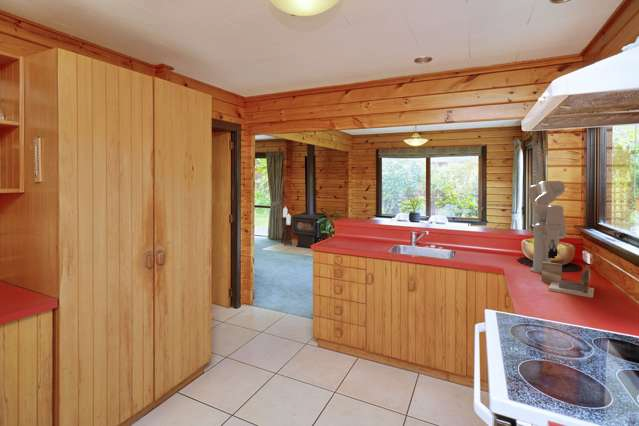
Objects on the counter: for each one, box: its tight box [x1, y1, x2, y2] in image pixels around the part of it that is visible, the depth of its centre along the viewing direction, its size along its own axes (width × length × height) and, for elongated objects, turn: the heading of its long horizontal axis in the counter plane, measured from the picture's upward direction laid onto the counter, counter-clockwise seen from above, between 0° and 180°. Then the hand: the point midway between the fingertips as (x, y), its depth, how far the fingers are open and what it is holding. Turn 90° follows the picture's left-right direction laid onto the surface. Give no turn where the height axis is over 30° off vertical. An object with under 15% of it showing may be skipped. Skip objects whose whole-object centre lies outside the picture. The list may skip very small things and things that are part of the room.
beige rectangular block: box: [541, 262, 563, 284], centre depth 188 cm, size 3×9×11 cm, turn 48°
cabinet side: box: [579, 264, 591, 293], centre depth 168 cm, size 12×3×12 cm, turn 138°
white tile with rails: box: [548, 279, 595, 298], centre depth 172 cm, size 14×18×4 cm
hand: (552, 257), depth 187 cm, fingers open, 9 cm apart
